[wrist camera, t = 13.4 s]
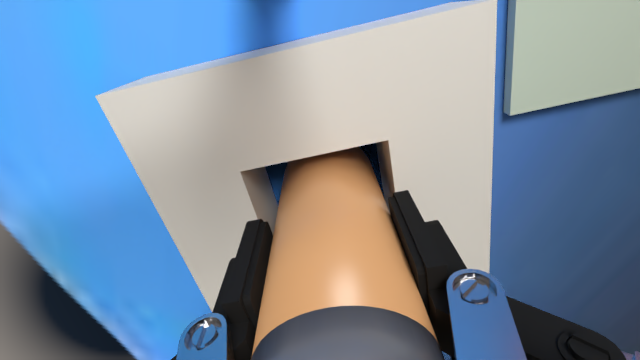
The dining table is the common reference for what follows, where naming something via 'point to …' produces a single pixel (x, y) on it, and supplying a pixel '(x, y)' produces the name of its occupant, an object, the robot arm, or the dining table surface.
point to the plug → (339, 271)
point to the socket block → (320, 127)
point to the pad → (569, 51)
